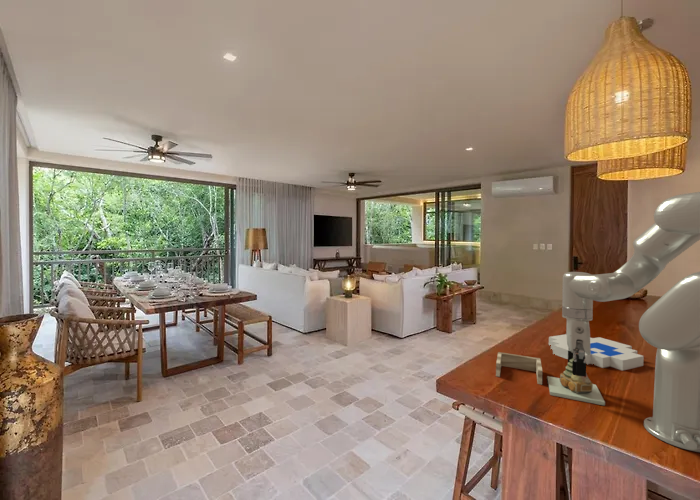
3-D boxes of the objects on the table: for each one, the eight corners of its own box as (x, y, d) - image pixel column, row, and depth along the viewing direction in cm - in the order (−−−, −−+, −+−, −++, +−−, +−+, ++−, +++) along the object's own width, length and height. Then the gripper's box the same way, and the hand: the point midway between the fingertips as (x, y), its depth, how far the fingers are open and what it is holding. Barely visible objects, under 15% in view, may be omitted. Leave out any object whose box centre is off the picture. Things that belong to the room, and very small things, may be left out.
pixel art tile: (656, 353, 121) (607, 363, 111) (656, 363, 121) (607, 375, 112) (580, 331, 147) (535, 339, 137) (580, 340, 148) (535, 348, 138)
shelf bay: (541, 384, 103) (542, 370, 103) (495, 376, 110) (496, 363, 109) (539, 371, 114) (540, 358, 114) (497, 363, 120) (498, 351, 120)
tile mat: (604, 405, 91) (604, 402, 91) (550, 395, 97) (550, 391, 97) (595, 387, 101) (595, 384, 101) (547, 379, 107) (547, 376, 107)
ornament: (596, 394, 95) (597, 360, 95) (579, 396, 94) (580, 362, 93) (572, 382, 103) (573, 351, 103) (556, 384, 102) (557, 352, 101)
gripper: (598, 320, 88) (598, 383, 89) (586, 308, 104) (586, 362, 104) (565, 318, 92) (565, 378, 92) (559, 306, 107) (558, 358, 108)
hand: (576, 369), depth 98 cm, fingers open, 9 cm apart
